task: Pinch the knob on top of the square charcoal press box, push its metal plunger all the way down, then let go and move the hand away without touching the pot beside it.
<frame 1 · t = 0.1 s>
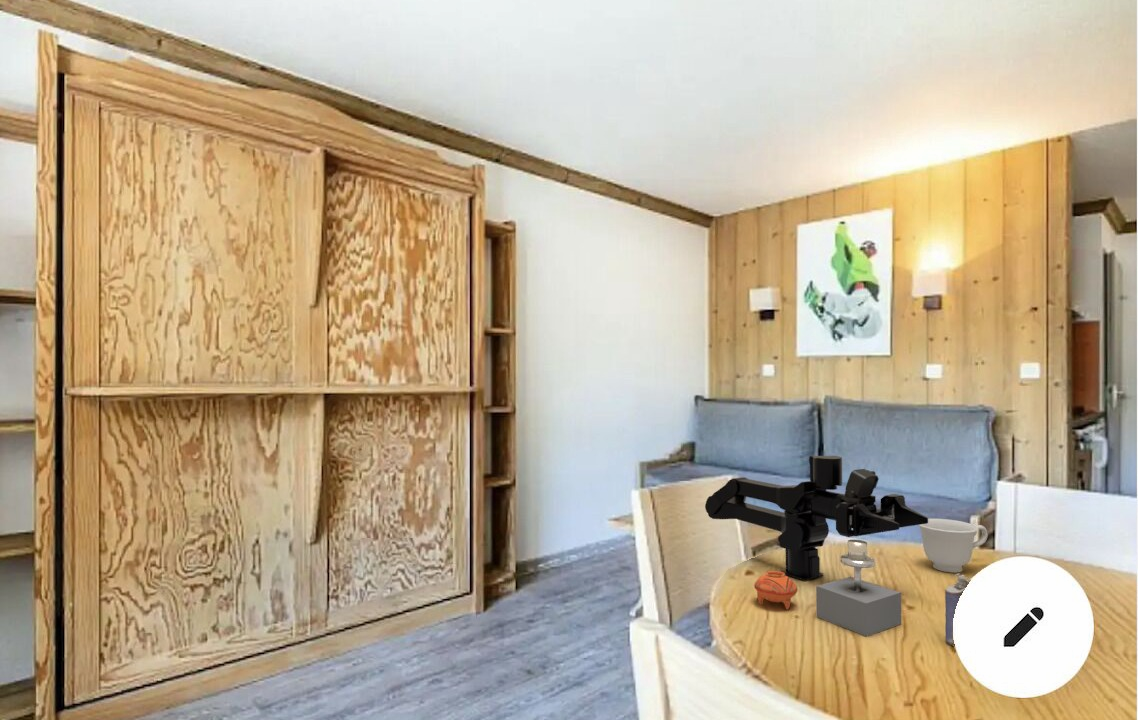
hand: (913, 523, 116), 17 cm above the table, tool horizontal, fingers open, 9 cm apart
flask: (963, 640, 104), on the table
plunger: (857, 570, 112), point 9 cm above the table, slide at 3.5 cm
pot: (776, 605, 120), on the table
teacup: (954, 569, 141), on the table
press box: (858, 620, 112), on the table
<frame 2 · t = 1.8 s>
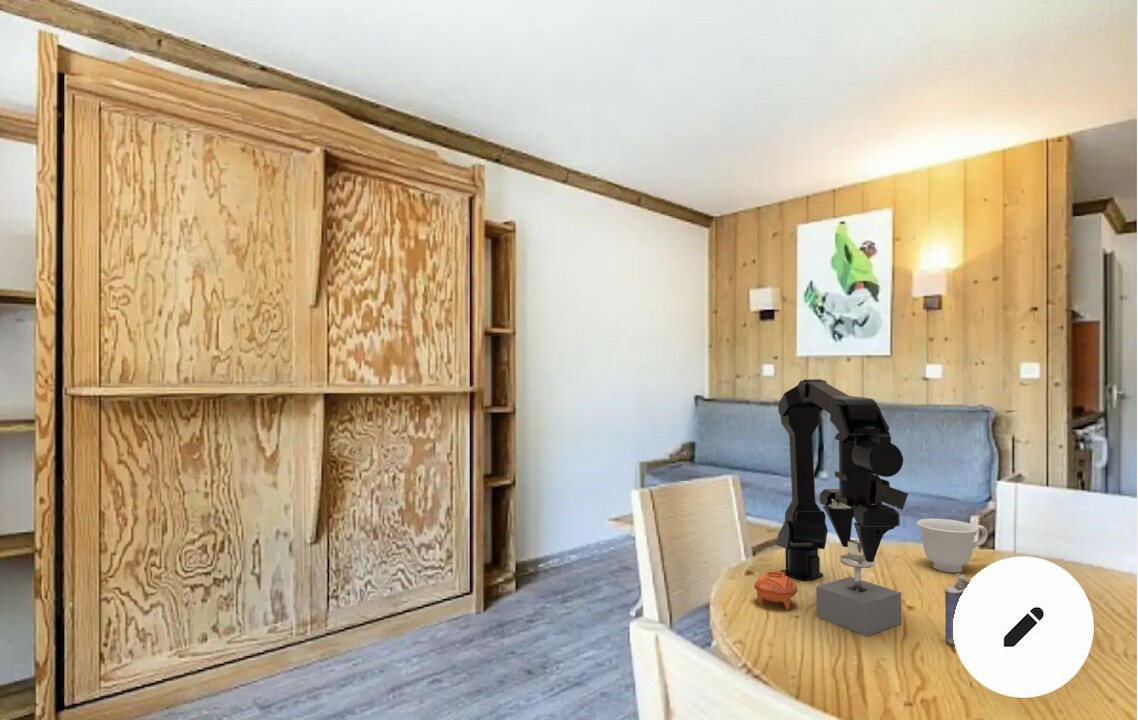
hand: (857, 554, 113), 12 cm above the table, tool pointing down, fingers open, 9 cm apart
nothing on the table moved.
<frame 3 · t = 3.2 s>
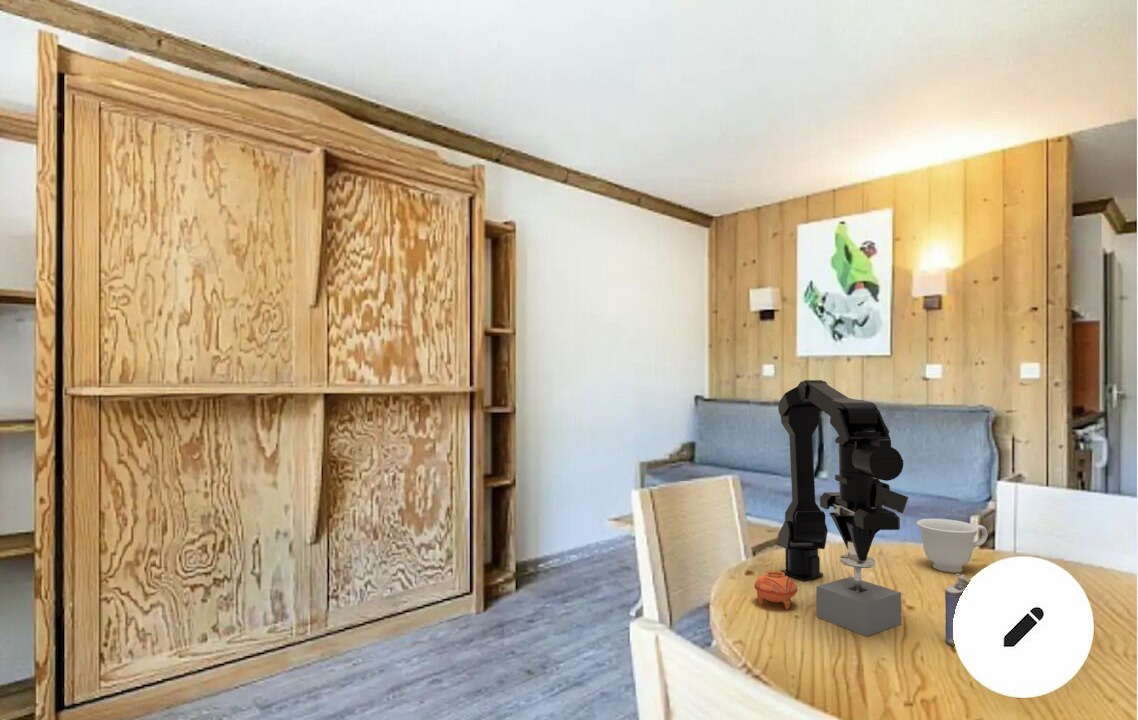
hand: (857, 557, 113), 11 cm above the table, tool pointing down, fingers closed on plunger, 3 cm apart
plunger: (857, 570, 112), point 9 cm above the table, slide at 3.5 cm, touching gripper
everything else where it was.
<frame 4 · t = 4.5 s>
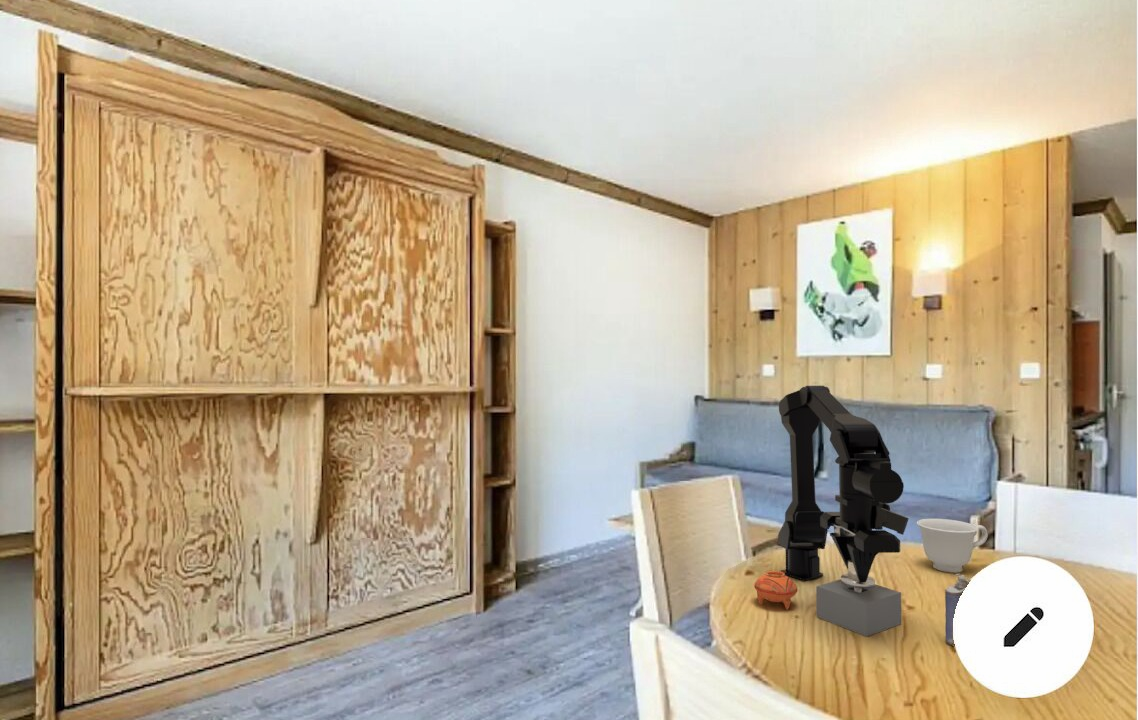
hand: (857, 578, 112), 8 cm above the table, tool pointing down, fingers closed on plunger, 3 cm apart
plunger: (857, 590, 112), point 5 cm above the table, slide at -0.1 cm, touching gripper
everything else where it was.
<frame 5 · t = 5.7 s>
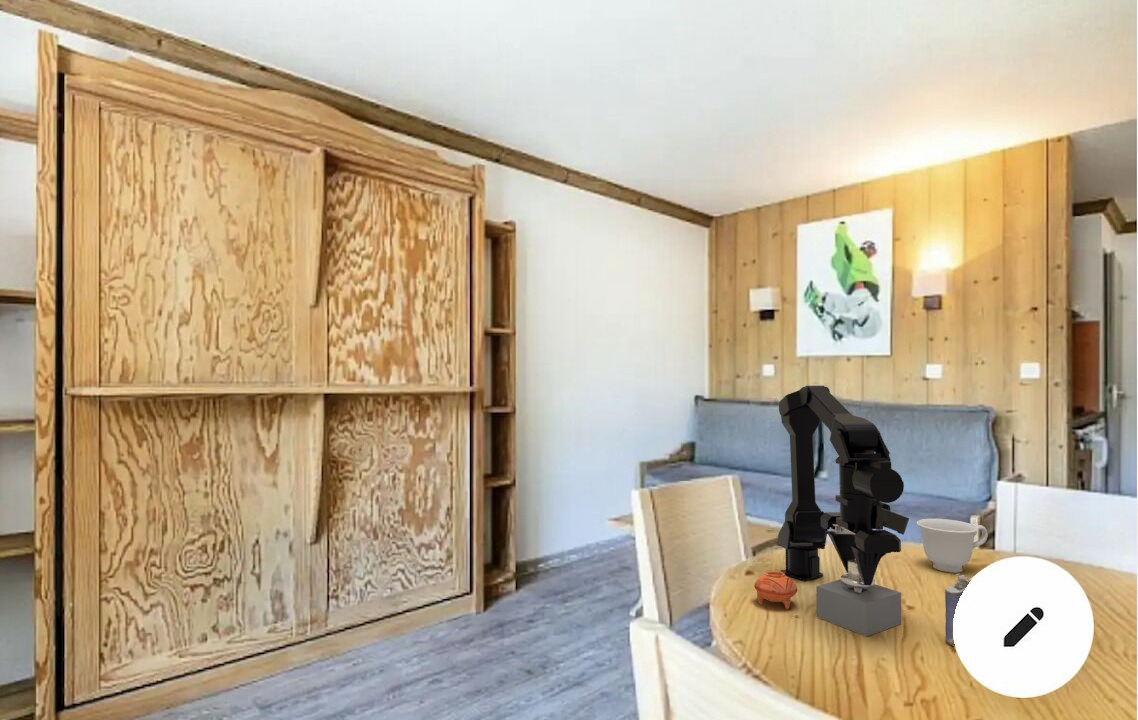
hand: (858, 578, 112), 8 cm above the table, tool pointing down, fingers open, 6 cm apart
plunger: (857, 590, 112), point 5 cm above the table, slide at -0.1 cm
everything else where it was.
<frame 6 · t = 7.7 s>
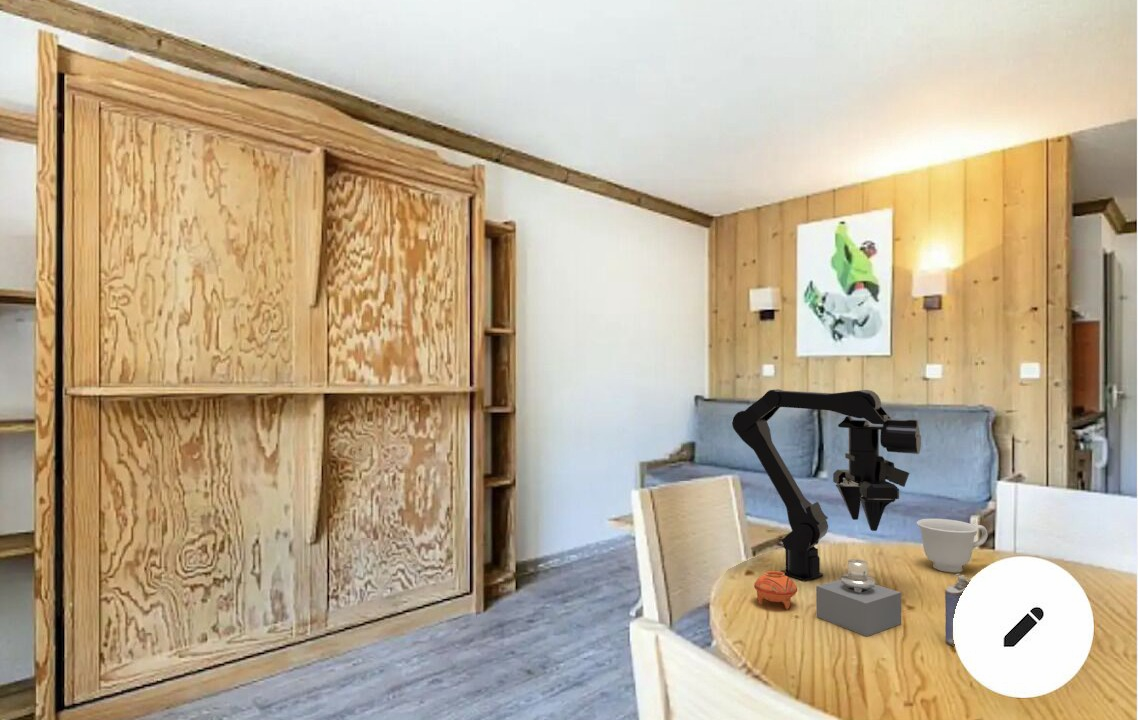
hand: (864, 524, 130), 13 cm above the table, tool pointing down, fingers open, 9 cm apart
nothing on the table moved.
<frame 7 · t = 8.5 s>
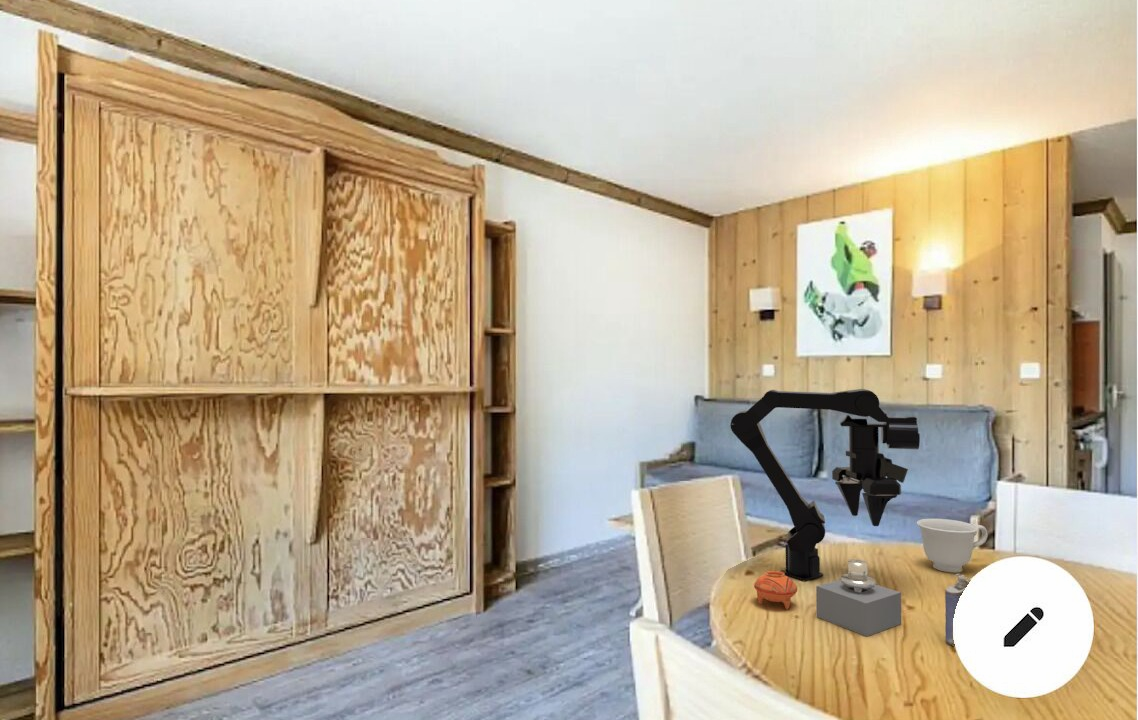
hand: (864, 520, 133), 13 cm above the table, tool pointing down, fingers open, 9 cm apart
nothing on the table moved.
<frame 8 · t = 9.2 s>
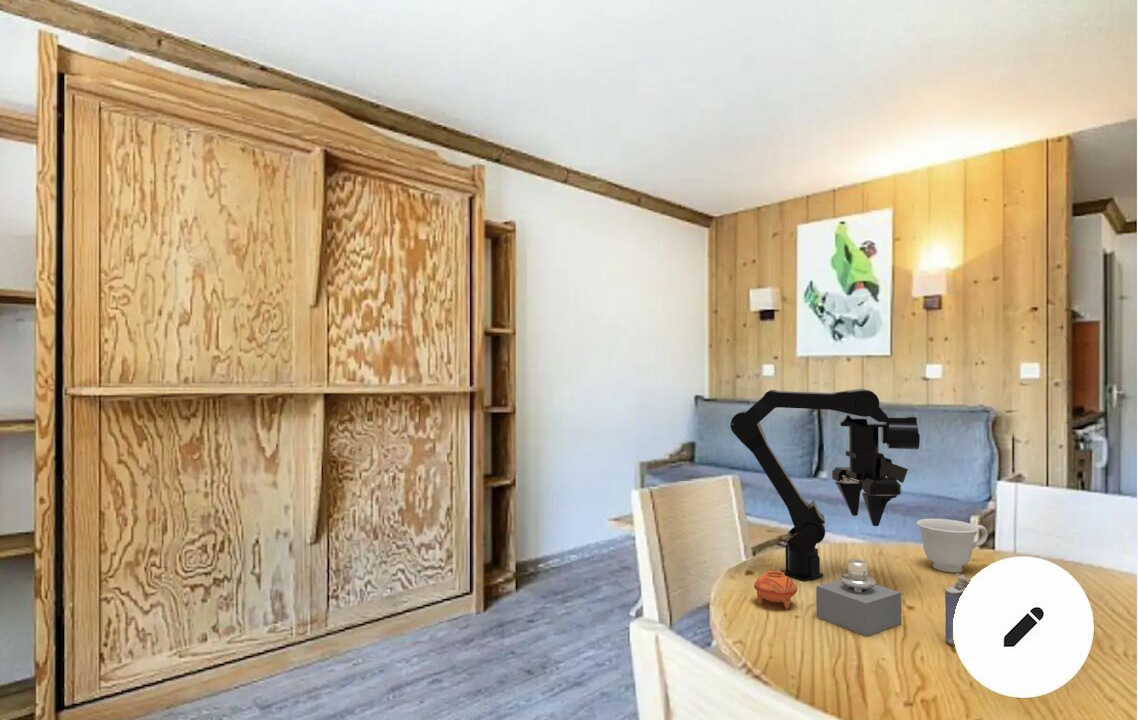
hand: (864, 520, 133), 13 cm above the table, tool pointing down, fingers open, 9 cm apart
nothing on the table moved.
at the end: plunger slide at -0.1 cm; the gripper is holding nothing; pot moved 0.3 cm from its start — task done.
